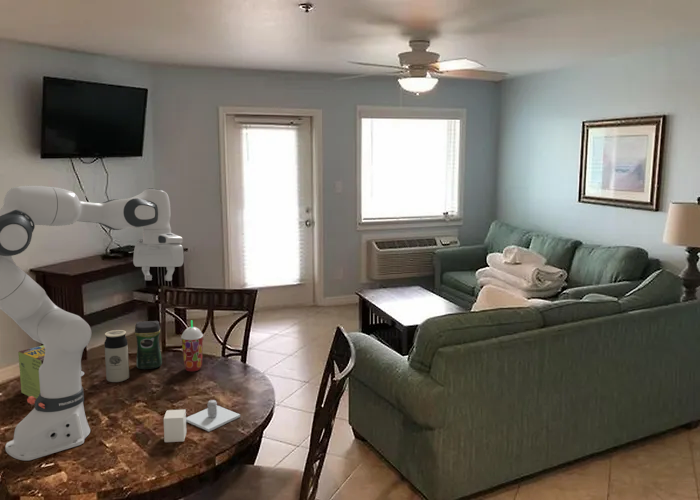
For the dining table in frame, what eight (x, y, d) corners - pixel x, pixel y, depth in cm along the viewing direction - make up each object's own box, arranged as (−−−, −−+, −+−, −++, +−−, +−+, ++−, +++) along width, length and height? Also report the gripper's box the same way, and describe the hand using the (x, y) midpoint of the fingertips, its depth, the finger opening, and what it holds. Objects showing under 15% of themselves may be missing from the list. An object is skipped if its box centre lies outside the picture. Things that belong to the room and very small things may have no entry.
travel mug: (112, 374, 223) (109, 329, 220) (132, 374, 223) (130, 329, 220) (102, 382, 215) (100, 335, 212) (123, 383, 215) (121, 336, 212)
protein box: (44, 404, 197) (41, 360, 194) (20, 393, 205) (17, 351, 202) (73, 393, 205) (70, 351, 203) (49, 383, 214) (46, 343, 211)
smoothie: (198, 363, 236) (197, 316, 233) (207, 369, 229) (206, 320, 226) (178, 368, 231) (177, 319, 227) (187, 374, 224) (186, 324, 221)
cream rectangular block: (184, 441, 173) (183, 417, 171) (164, 442, 172) (163, 418, 171) (186, 432, 178) (185, 409, 177) (167, 433, 177) (166, 410, 176)
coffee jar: (163, 362, 237) (161, 318, 234) (160, 369, 229) (159, 323, 226) (138, 363, 235) (136, 319, 232) (135, 370, 227) (132, 325, 224)
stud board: (208, 431, 179) (208, 414, 178) (184, 420, 186) (183, 403, 185) (240, 416, 189) (240, 400, 188) (215, 406, 196) (215, 390, 195)
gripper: (128, 239, 193) (129, 280, 193) (171, 237, 183) (172, 281, 183) (143, 239, 199) (144, 279, 199) (186, 237, 188) (187, 280, 188)
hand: (158, 280), depth 191 cm, fingers open, 8 cm apart
